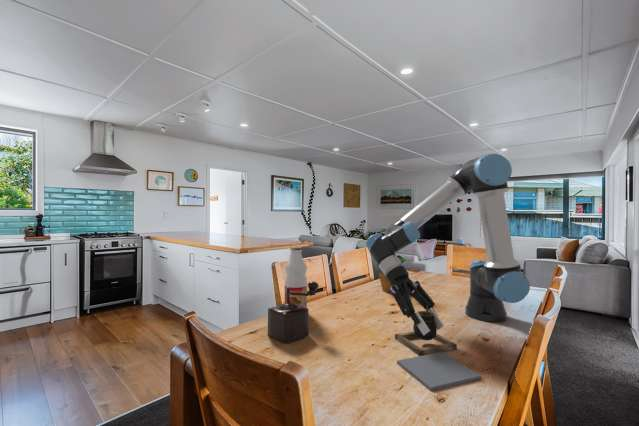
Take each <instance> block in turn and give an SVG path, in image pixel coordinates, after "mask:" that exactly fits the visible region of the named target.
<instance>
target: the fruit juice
mask: <svg viewBox="0 0 639 426" xmlns="http://www.w3.org/2000/svg"><path fill="white" fill-rule="evenodd" d="M289 250H290V256H289V259H288V261H287V263H285V266H284V267H285V269H284V271H285V278H284V303H286V302H287V294H286V292H287V290H286V289H287V288H290V292H291V293H308V279H307V275H306V274H307V271H308V267H307V263H306V262H305V261H304V258H303V255H302V251H303V247H302V246H290V249H289ZM290 302H292V303H294V304H296V305H299V306H302V307H305V308H308V296H303V295H291V294H290Z"/></svg>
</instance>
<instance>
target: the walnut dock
mask: <svg viewBox="0 0 639 426" xmlns="http://www.w3.org/2000/svg"><path fill="white" fill-rule="evenodd" d="M415 338H417V339H418V337H417V336H416V335H415V333H414V331H409V332H402V333H395V334H394V339H395V340H396V341H397V342H399V343H400V344H402V345H403V346H405V347H406V348H408V349H409V350H410V351H411V352H413V353H414V354H416V355H418V356H424V355H429V354H434V353H440V352H443V353H445V352H448V351H455V350H457V349H458V345H457V343H455V342H453V341H451V340H449V339H447V338H446V337H444V336H442V335H440V334H438V333H437V332H436V336H435V338H433V339H434V340H435V341H436V342H439V343H440V344H436V345H430V346H425V347H420V346H418V345H416V344H415V343H413V342H412V341H410V340H411V339H415ZM433 339H432V340H433Z"/></svg>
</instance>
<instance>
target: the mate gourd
mask: <svg viewBox="0 0 639 426" xmlns="http://www.w3.org/2000/svg"><path fill="white" fill-rule="evenodd" d="M417 312H418V313H419V315H420V316H421V318H422V319H423V321H424V322H425V324H426V325H427V327H428V328H429V330H430V331H429V332H428V333H427V334H425V335H423V334H422V332H421V331H420V329H419V328H418V326H417V325H416V324H415V323H414V322H413V327H412V328H413V332H414V333H415V335H416V336H417V339H419V340H421V341H432V340H433V338H435V336H436V333H437V331H438V330H437V328H436V325H435V321H434V314H433V313H431V312H428V305H427V304H426V310H419V311H417Z"/></svg>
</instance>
